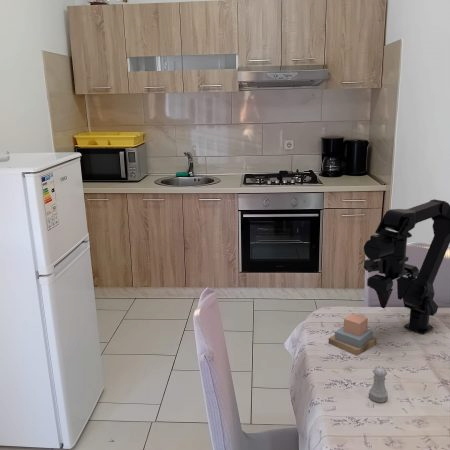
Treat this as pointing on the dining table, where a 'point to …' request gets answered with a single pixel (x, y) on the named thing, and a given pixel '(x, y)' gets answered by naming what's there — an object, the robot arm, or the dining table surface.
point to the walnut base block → (351, 348)
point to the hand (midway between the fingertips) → (391, 303)
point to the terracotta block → (355, 324)
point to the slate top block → (353, 337)
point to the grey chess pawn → (379, 385)
